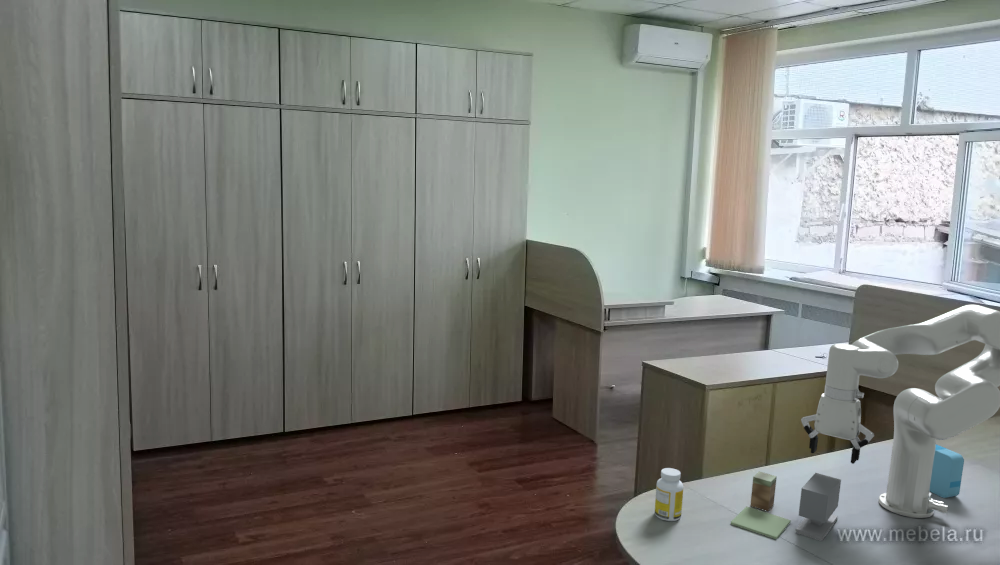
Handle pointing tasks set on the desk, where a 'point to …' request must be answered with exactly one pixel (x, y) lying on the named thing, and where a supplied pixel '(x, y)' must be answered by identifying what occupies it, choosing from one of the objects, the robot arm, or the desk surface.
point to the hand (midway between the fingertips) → (833, 456)
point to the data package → (946, 472)
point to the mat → (761, 522)
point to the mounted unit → (818, 506)
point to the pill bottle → (669, 495)
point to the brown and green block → (763, 491)
